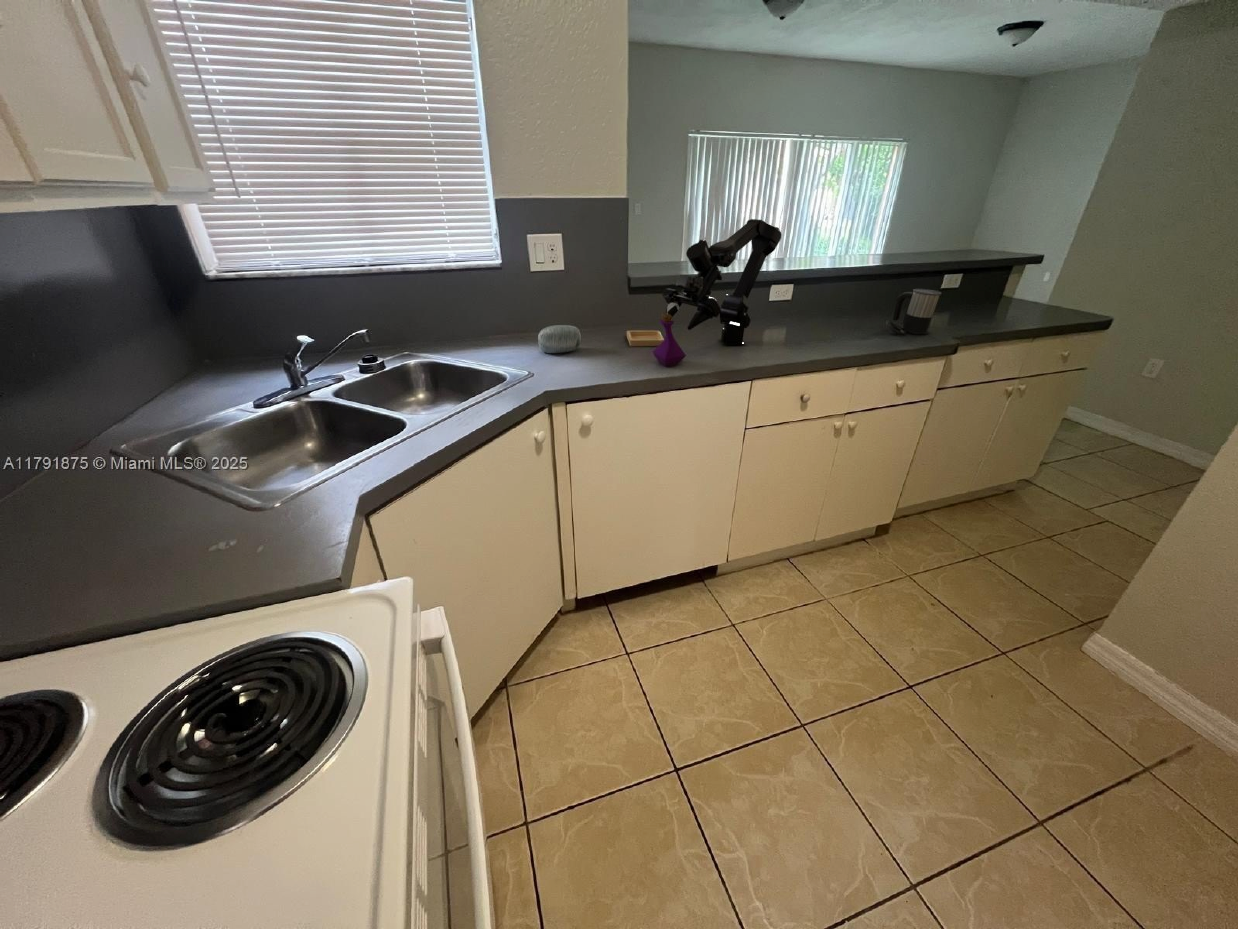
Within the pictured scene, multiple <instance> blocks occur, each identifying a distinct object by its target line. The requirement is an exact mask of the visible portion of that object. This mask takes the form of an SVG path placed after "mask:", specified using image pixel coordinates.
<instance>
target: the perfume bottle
mask: <svg viewBox="0 0 1238 929" xmlns="http://www.w3.org/2000/svg"><path fill="white" fill-rule="evenodd" d="M675 305H676V307H677V309H678V311H680V307H679V305H678V304H676V303H670V304H669V305H668V307H667V306H666V307H667V314H666V312H663V313H662V314H661V320H660V321H659V323H660V324H661V325H662V327H663V328H664V332H665V336H664V341H663V342H662V343H661V344H660V345H659V346H656V348H654V349H653V350H652V354H653V357H655V359H656V361H657V362H658V363H659V364H660V365H662V366H663V367H665V368H667V367H675V366H678V365H679V364H680V363H681V362H682V361H683V360H684V359H685V358H686V356H687V354H686V353H685V352H684V351H683V349H682V347H681V346H680V345H679V343H678V341H677V340H676V338H675V337H674V334H673V330H672V326H673V325H674V324H675V321H674V320H673V317H672V316H671V315H670V314H668V311H669V310H670V309H671V308H672V307H673V306H675Z"/></svg>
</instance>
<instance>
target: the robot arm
mask: <svg viewBox="0 0 1238 929" xmlns="http://www.w3.org/2000/svg"><path fill="white" fill-rule="evenodd" d="M781 240H782V232H781V230H780V228H779V227H778V226H774V225H772V224H769V223H767V222H766V221H765V220H763V219H757V218H750V219H748V220H747V221H746V223H745V224H744V225H742V227H740V228H739V229H738V230H737V231H735V232H734V233H732V235H731V236H729V237H728V238H727V239H725V240H721V241H720V240H719V241H717V242H715V243H713V244H712V245H710V246H709V245H708V242H707V240H706V239H699V240H698V242H696V243H694V244H692V245H691V246H689V247H688V248H687V250H686V252H685V255H686V257H687V259H688V261H689V263H690V265H691V267H692V268H693V271H695V272H696V273H697V274H696V275H695V276H690V275H685V274H679V275H678V278H677V281H676V283H675V287H677V288H680V289H681V290H680V291H681V293H682V294H683V295H680V293H679V291H678V290H677V289H672V288H669V287H668V288H665V289H664V291H663V292H662V294H661V295H662V297H663V299H664V301H665V302H666V308H665V313H666V314H667V307H668V305H669V304H670V303H676V304H678V305H679V308H680V307H682V304H683V305H688V306H692V307H696V309H697V310H696V312H695V313H694V315H693V317H692V318H691V320H690V321H689V323H688V326H687V329H688V331H691V330H692V329H694V328H695V327H697V326H698V325H700V324H702V323H704V322H706V321H708V320H710V319H713V318H718V317H719V321H720V322H719V323H720V325H721V324H722V325H723V327H722V329H721V336H720V341H721V342H722V344H723V345H725V346H744V345H745V343H744V342H743V341H744V335H745V329H747V328H748V327H750V324H751V318H750V316H749V314H748V310H749V300H748V299H749V296H750V294H751V292H752V290H753V287H754V285H755V283H756V282H757V278H758V276H759V274H760V272H761V271H762V270H761V269H762V267H763V265H764V263H765V261H766V259H767V257H768V256H770V255H771V254H772V253H774V251H775V250H776V248H777V247H778V245H779V243H780V242H781ZM749 243H751V252H750V255H749V257H748V260H747V262H746V264H745V266H744V269H743V271H742V273H741V275H740V278H739V280H738V282H737V284H736V286H735V289H734V291H733V292H732V293H731V294H726V295H725V296H724V299H723V301H722V303H721V304H719V302H718V300H717V299H716V297H712V296H711V294H712V291H711V290H712V287H713V286H714V284H715V282H716V281H719V282H720V281H721V282H722V280H723V275H722V270H720V268H729V267H730V266H731V265H732V264H733V263H734V261H735V260H736V258H737V254H738V252H740V250H742V249H743V248H744V247H746V246H747V244H749ZM719 267H720V268H719ZM678 312H679V310H678V309H677V307H676V305H675V306H673V307H672V308H671V309H670V310H669V311H668V314H670V315H671V316H672V318H673V317H674V316H675V315H676V314H677V313H678Z"/></svg>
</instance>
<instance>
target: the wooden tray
mask: <svg viewBox="0 0 1238 929" xmlns="http://www.w3.org/2000/svg"><path fill="white" fill-rule="evenodd" d="M626 338H627V341H628V344H629V347H658V346H659V345H660V344H661V343H662V342H663V341H664V339H665V337H663V335H662V333H661V331H660V330H626Z"/></svg>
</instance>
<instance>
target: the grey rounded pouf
mask: <svg viewBox="0 0 1238 929" xmlns="http://www.w3.org/2000/svg"><path fill="white" fill-rule="evenodd" d="M581 336H582V335H581V331H580V329H579V328H578V327H577V326H574V325H569V324H568V325H566V324H557V325H549V326H545V327H544V328H542V329H541V330H540V331H539V332H538V336H537V343H538V347H539V349H540V350H541V351H542V352H543V353H546V354H547V353H548V354H560V353H569V352H575V351H577V350H578V349H579V347H580V345H581V341H582V337H581Z"/></svg>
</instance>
